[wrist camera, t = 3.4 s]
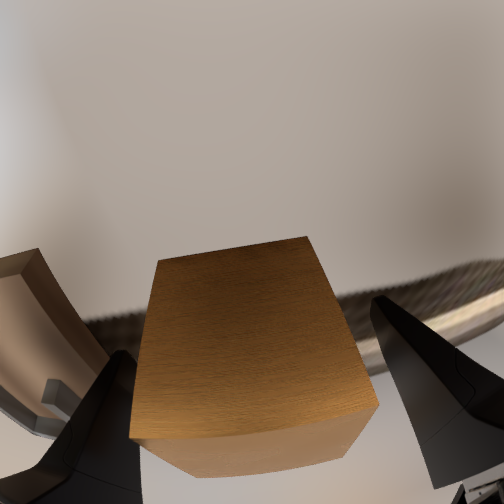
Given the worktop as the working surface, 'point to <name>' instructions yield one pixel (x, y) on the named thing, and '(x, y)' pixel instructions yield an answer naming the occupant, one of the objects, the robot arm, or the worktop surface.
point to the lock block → (248, 364)
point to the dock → (42, 347)
